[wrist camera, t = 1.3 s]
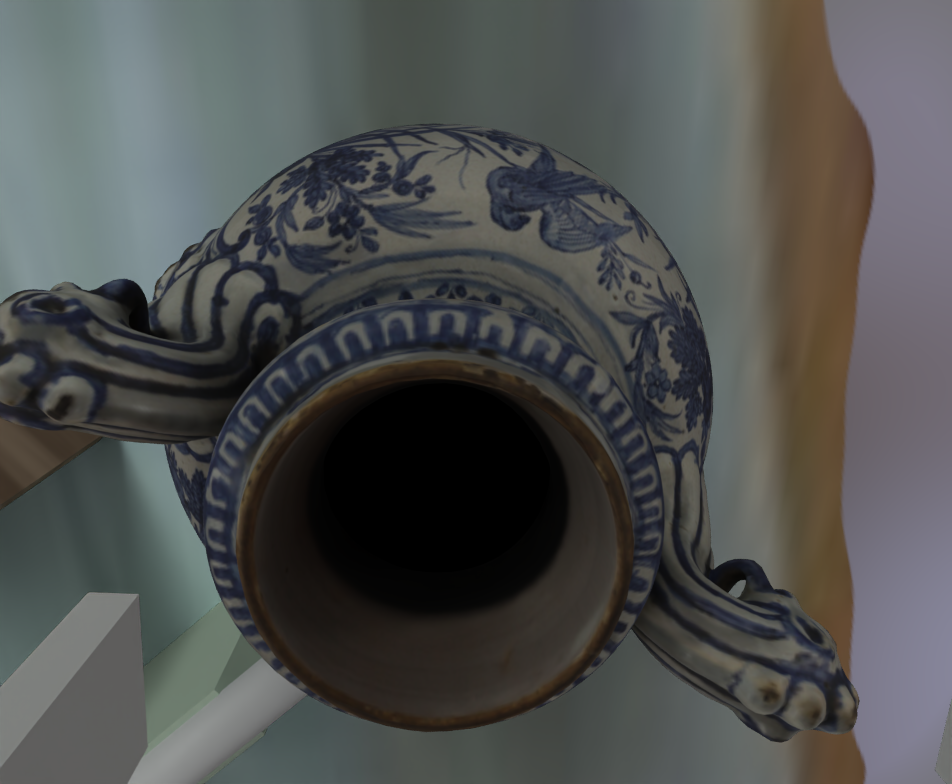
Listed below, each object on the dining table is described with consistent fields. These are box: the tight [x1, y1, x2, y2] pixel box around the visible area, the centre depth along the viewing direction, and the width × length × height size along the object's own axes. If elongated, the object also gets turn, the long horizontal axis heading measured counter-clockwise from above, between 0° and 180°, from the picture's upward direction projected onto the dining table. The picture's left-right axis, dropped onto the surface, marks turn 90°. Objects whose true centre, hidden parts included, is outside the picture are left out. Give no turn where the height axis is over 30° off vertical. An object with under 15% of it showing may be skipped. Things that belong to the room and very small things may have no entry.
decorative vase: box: [0, 124, 859, 742], centre depth 28 cm, size 21×19×28 cm
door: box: [128, 601, 307, 784], centre depth 40 cm, size 25×4×14 cm, turn 131°
